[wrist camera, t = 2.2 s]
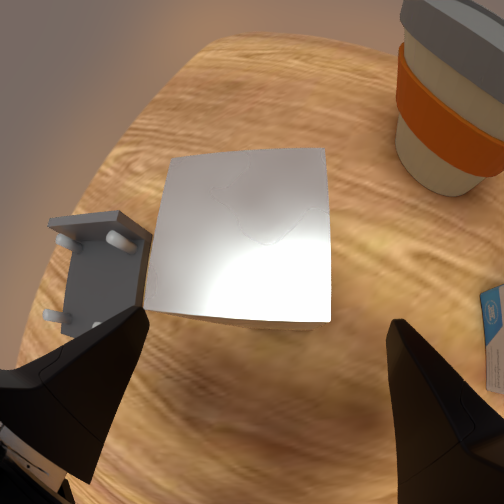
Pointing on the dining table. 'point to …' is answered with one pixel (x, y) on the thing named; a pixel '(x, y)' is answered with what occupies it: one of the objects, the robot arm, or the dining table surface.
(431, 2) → the reusable coffee cup
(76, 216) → the drive dock
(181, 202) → the silver tall square block
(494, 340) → the ink box
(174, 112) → the dining table surface
